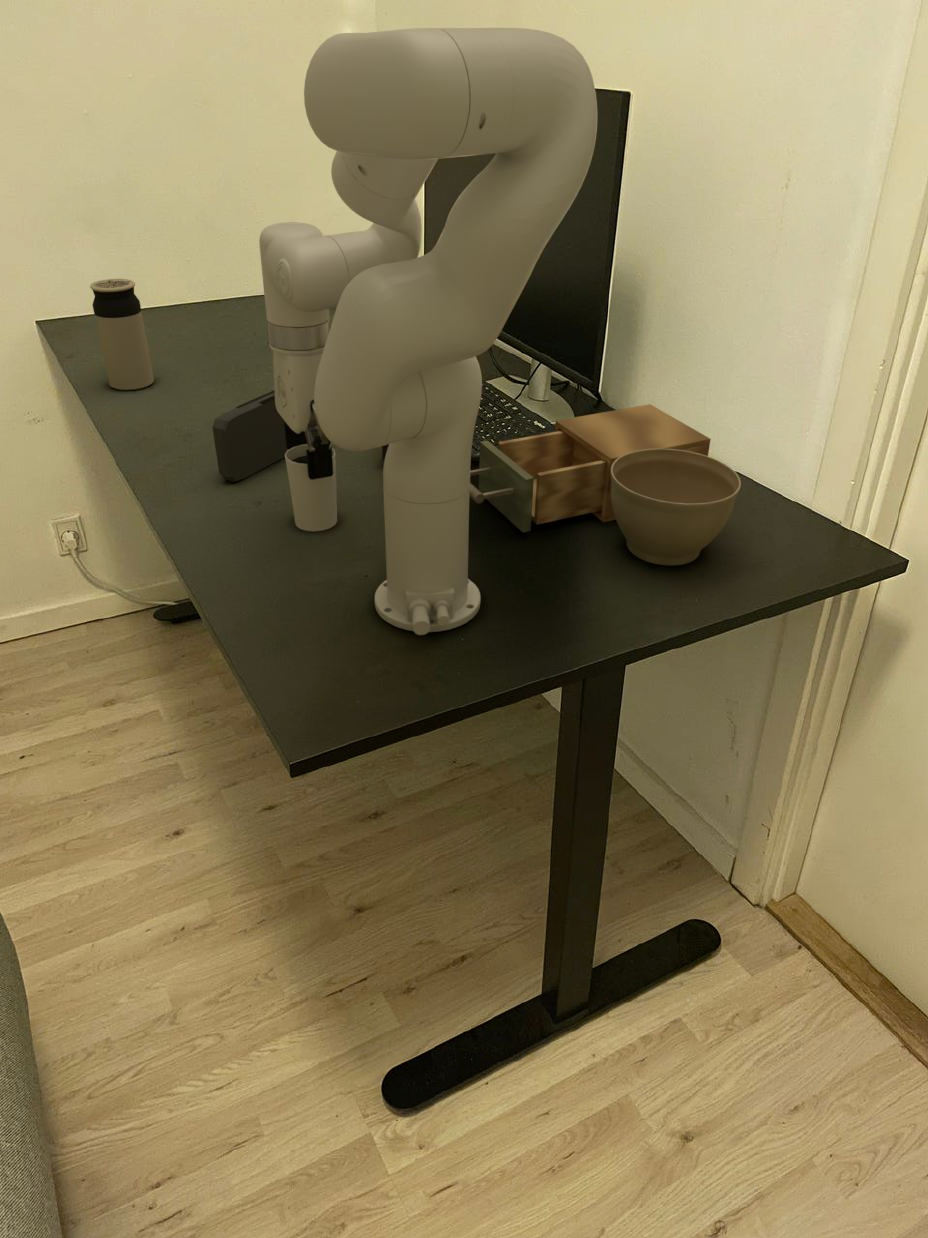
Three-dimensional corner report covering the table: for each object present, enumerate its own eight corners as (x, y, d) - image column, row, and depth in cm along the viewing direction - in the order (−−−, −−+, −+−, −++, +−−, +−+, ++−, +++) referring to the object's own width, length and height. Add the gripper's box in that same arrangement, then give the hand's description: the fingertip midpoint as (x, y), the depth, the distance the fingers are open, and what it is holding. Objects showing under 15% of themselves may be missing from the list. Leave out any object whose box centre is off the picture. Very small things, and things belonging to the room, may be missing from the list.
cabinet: (603, 522, 126) (610, 458, 121) (550, 480, 137) (555, 420, 132) (700, 500, 133) (711, 438, 127) (642, 462, 143) (650, 403, 138)
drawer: (483, 541, 120) (485, 487, 115) (441, 499, 130) (441, 448, 125) (620, 510, 127) (626, 459, 123) (570, 473, 137) (574, 424, 133)
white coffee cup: (327, 536, 122) (321, 467, 116) (282, 528, 124) (275, 459, 118) (348, 514, 127) (344, 447, 122) (305, 507, 129) (299, 440, 123)
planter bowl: (634, 589, 112) (645, 509, 106) (583, 528, 125) (591, 454, 119) (749, 571, 116) (766, 494, 110) (689, 514, 129) (701, 442, 123)
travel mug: (156, 388, 168) (138, 287, 158) (111, 393, 165) (89, 291, 155) (152, 374, 174) (134, 276, 164) (108, 379, 171) (87, 279, 161)
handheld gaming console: (315, 431, 152) (310, 372, 146) (328, 434, 151) (324, 375, 145) (218, 481, 135) (208, 417, 130) (232, 485, 134) (222, 421, 129)
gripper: (250, 316, 116) (263, 441, 126) (290, 359, 104) (301, 494, 113) (307, 310, 119) (316, 433, 129) (352, 351, 106) (358, 484, 116)
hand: (309, 461), depth 121 cm, fingers open, 9 cm apart
